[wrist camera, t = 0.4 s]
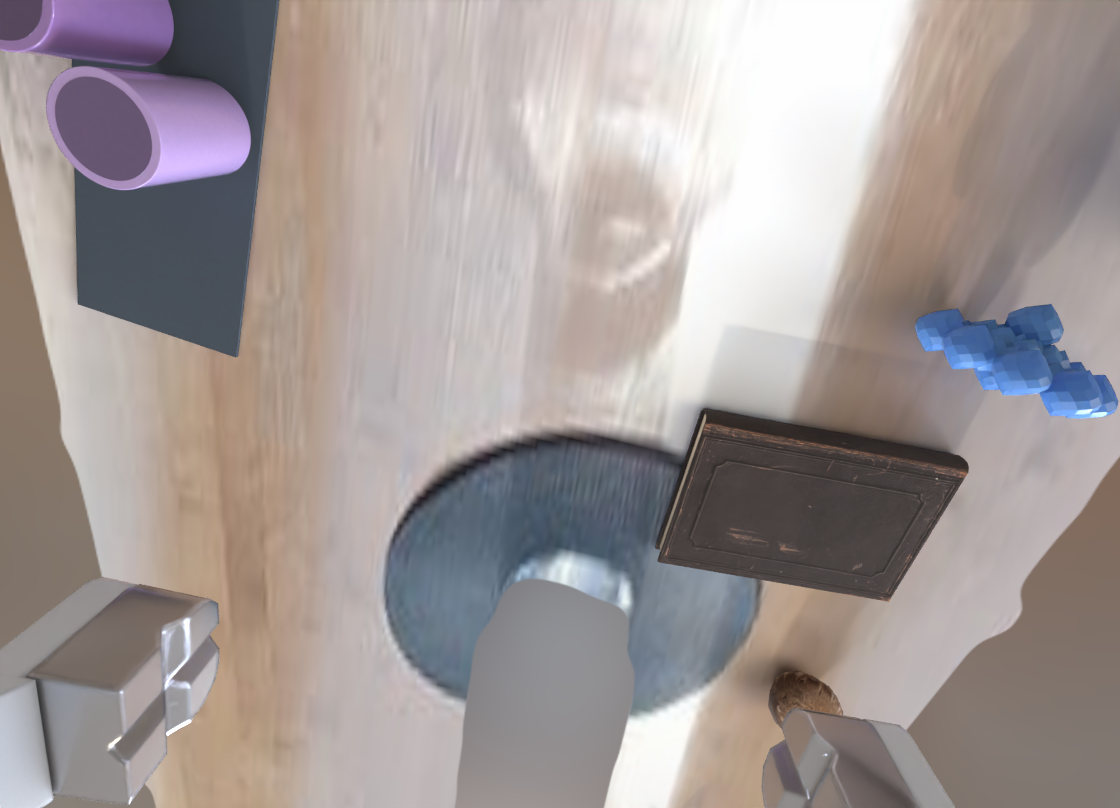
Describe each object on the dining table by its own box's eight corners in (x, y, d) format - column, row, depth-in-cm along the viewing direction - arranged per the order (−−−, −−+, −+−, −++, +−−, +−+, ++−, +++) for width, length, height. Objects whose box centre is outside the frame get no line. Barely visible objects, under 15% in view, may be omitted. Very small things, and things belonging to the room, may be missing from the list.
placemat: (69, -173, 34) (65, -175, 33) (288, -78, 35) (286, -79, 35) (80, 303, 47) (77, 304, 47) (237, 356, 49) (236, 357, 48)
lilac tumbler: (168, 62, 39) (42, 46, 30) (259, 98, 39) (163, 93, 30) (164, 155, 41) (47, 166, 32) (249, 187, 42) (158, 206, 33)
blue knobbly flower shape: (1058, 307, 44) (1212, 369, 33) (999, 382, 47) (1122, 460, 36) (928, 254, 42) (1044, 300, 32) (876, 334, 45) (966, 401, 35)
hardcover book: (878, 584, 57) (889, 602, 55) (655, 546, 56) (657, 562, 54) (956, 451, 50) (972, 466, 48) (702, 404, 49) (708, 417, 47)
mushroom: (870, 713, 61) (853, 756, 56) (807, 720, 66) (788, 760, 62) (823, 647, 62) (804, 685, 58) (766, 659, 68) (744, 695, 63)
